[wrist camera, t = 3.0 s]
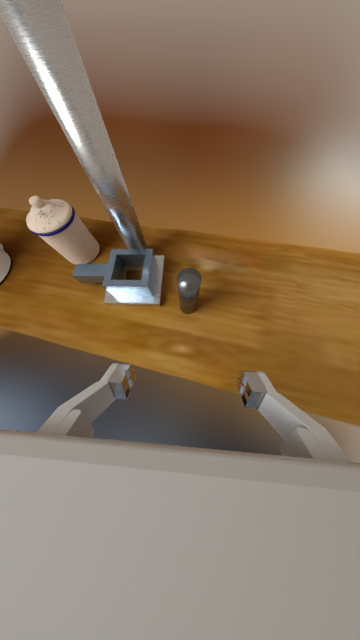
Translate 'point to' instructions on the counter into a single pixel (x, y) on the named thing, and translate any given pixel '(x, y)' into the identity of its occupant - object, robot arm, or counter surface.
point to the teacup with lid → (62, 229)
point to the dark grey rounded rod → (188, 289)
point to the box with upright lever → (86, 145)
